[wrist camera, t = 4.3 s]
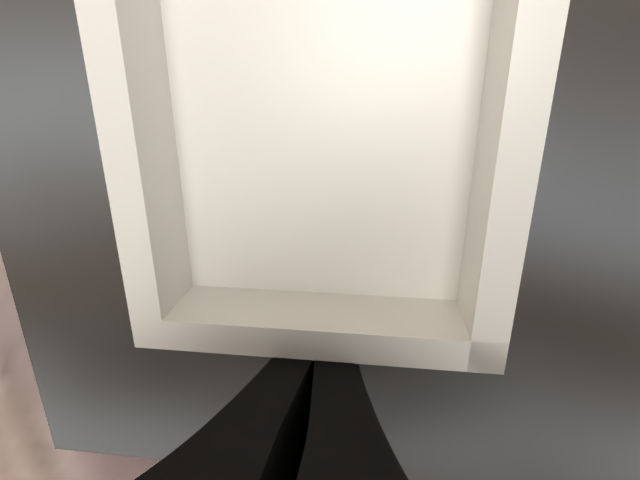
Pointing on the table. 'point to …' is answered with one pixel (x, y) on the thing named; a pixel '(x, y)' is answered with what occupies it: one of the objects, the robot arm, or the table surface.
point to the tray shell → (323, 171)
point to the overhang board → (380, 381)
